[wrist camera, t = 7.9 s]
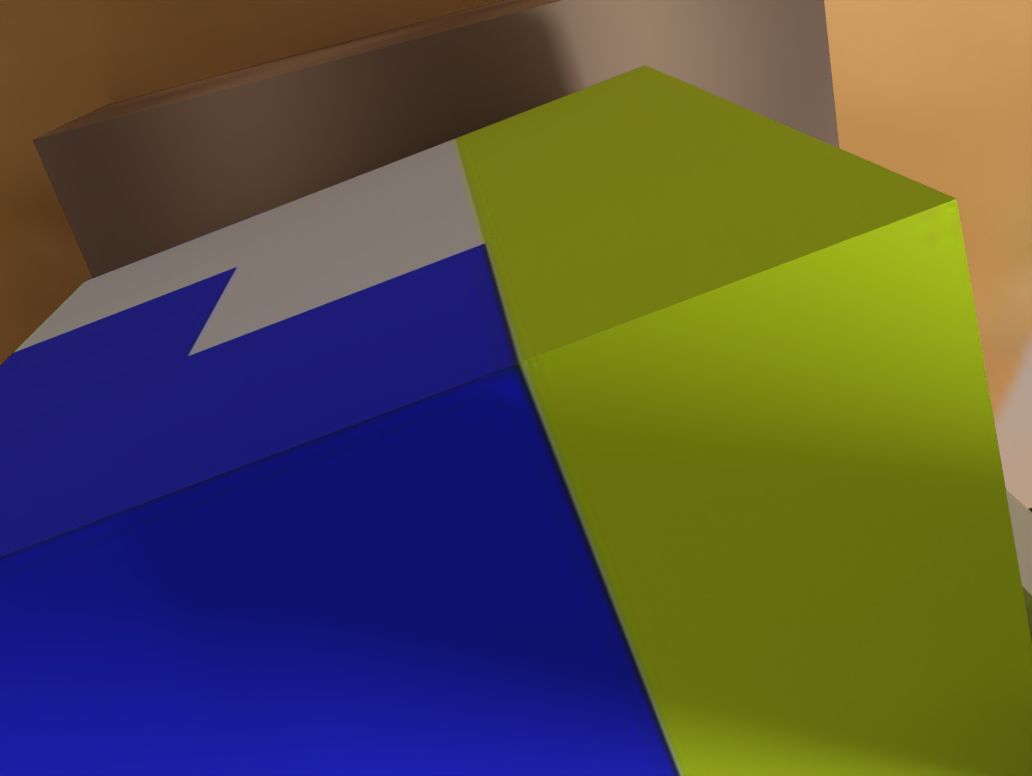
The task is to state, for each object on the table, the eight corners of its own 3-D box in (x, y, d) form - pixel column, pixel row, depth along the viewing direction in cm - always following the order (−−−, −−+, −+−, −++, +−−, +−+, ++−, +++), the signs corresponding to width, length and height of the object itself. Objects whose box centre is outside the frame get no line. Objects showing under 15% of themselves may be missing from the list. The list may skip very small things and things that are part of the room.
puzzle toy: (84, 281, 17) (-305, 670, 8) (645, 64, 16) (956, 198, 7) (330, 709, 21) (270, 1301, 12) (784, 546, 20) (1096, 1027, 11)
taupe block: (313, 610, 27) (295, 739, 23) (111, 102, 22) (32, 139, 17) (804, 481, 27) (884, 585, 23) (730, -61, 22) (816, -68, 17)
